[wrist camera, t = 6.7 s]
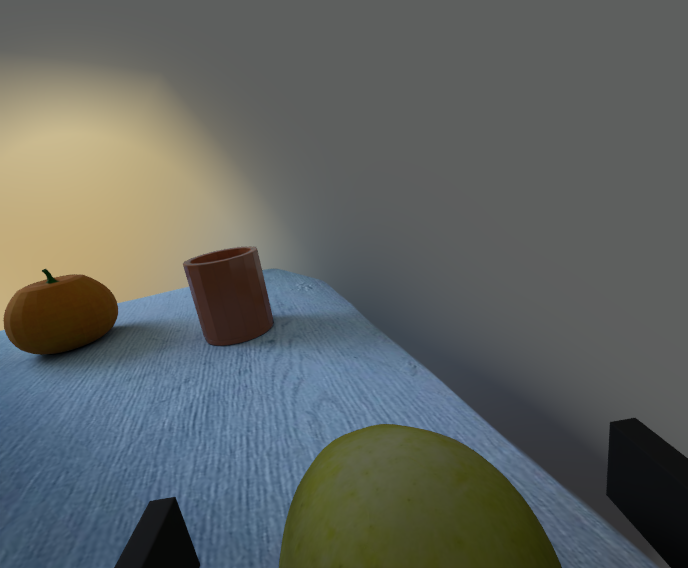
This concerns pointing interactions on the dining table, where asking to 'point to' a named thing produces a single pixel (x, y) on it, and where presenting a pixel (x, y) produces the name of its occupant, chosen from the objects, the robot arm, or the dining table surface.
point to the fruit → (59, 314)
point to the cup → (229, 295)
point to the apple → (409, 507)
